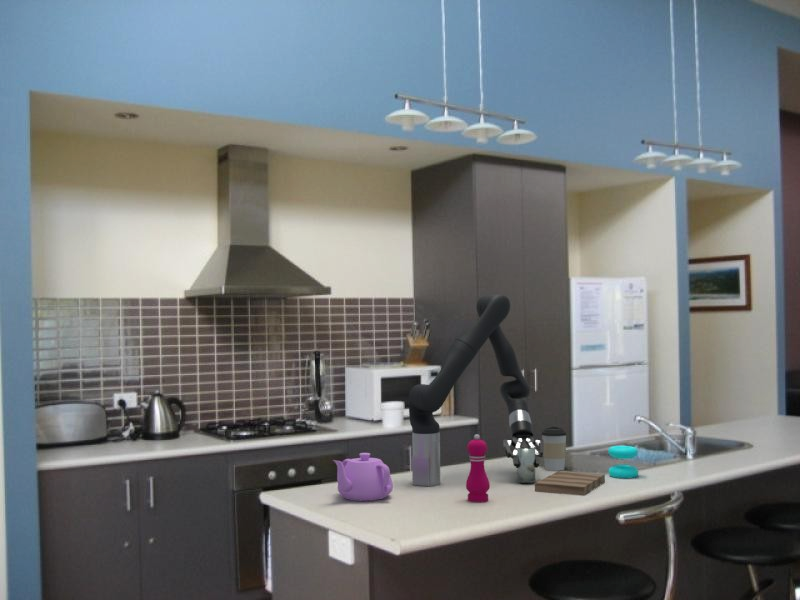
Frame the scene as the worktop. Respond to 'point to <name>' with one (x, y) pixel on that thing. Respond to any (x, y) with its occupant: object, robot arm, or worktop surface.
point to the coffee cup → (554, 448)
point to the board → (570, 483)
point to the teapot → (363, 478)
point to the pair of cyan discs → (623, 453)
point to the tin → (526, 464)
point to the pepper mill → (477, 471)
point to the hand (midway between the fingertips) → (527, 466)
